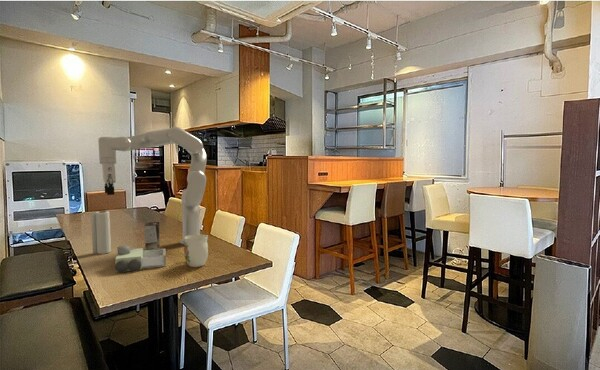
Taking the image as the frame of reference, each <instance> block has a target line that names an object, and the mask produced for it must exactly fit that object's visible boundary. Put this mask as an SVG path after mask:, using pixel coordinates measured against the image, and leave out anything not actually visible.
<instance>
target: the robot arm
mask: <svg viewBox="0 0 600 370" xmlns="http://www.w3.org/2000/svg"><path fill="white" fill-rule="evenodd" d="M174 144H176V145H178V146H180V147H182V148H183V149H185V151H187V152H188V153H189V155H190V156H191V161H190V166H189V170H188V173H187V176H186V181H187V186H186V189H184V191H182V193H181V207H182V208H181V212H182V214H181V216H182V218H181V219H182V239H180V241H179V244H180V245H184V246H185V239H184V237H186V236H189V235H196V234H201V228H200V227H201V224H200V223H201V219H200V217H201V215H200V211H201V210H200V205H201V203H202V200H203V198H204V194H205V191H206V186H207V176H206V174H205V172H206V166H207V160H208V158H207V157H208V156H207V153H206V150H205V148H204V143H203V142H202V141H201V139H200V138H198V137H196V136H194V135H193V134H191V133H190V132H187V130H184V129H183V128H181V127H179V126H173V127H171V128H163V129H158V130H151V131H146V132H145V133H141V134H136V135H131V136H130V135H129V136H116V137H115V136H114V137H112V136H100V137H99V138H98V157H99V164H100V165H101V166H102V169H101V170H102V180H103V182H104V193H105V194H107V196H111V195H113V196H114V195H115V183H117V179H116V178H117V175H116V166H115V165H116V164H117V152H116V151H119V152H129V151H135V150H141V149H146V148H147V149H148V148H149V149H150V148H157V147H162V146H167V145H174ZM206 235H207V236H208V237H209V235H208V234H206Z"/></svg>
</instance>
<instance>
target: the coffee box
mask: <svg viewBox="0 0 600 370" xmlns="http://www.w3.org/2000/svg"><path fill="white" fill-rule="evenodd" d="M144 238H145V239H144V243H145V246H144V248H145V249H144V250H152V249H161V244H160V243H161V241H160V238H161V237H160V222H159V221H150V222H146V223H145V225H144Z"/></svg>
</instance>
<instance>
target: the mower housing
mask: <svg viewBox="0 0 600 370" xmlns="http://www.w3.org/2000/svg"><path fill="white" fill-rule="evenodd" d="M143 250H144V247H137V248H135V247H134V248H131V246H130V245H125V244H124V245H120V246H117V254H116V256H115V266H114V269H115V273H119V274H123V273H126V272H138V271H139V270H140V271H141V270H143V269H142V263H141V257H143Z"/></svg>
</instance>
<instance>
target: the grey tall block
mask: <svg viewBox="0 0 600 370" xmlns="http://www.w3.org/2000/svg"><path fill="white" fill-rule="evenodd" d="M90 219H91V220H90V221H91V239H92V254H96V253H97V254H98V255H104V254H109V253H111V252H112V249H111V248H112V244H111V243H112V242H111V241H112V240H111V220H110V219H111V218H110V211H108V210H107V211H105V210H103V211H94V212H90Z"/></svg>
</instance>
